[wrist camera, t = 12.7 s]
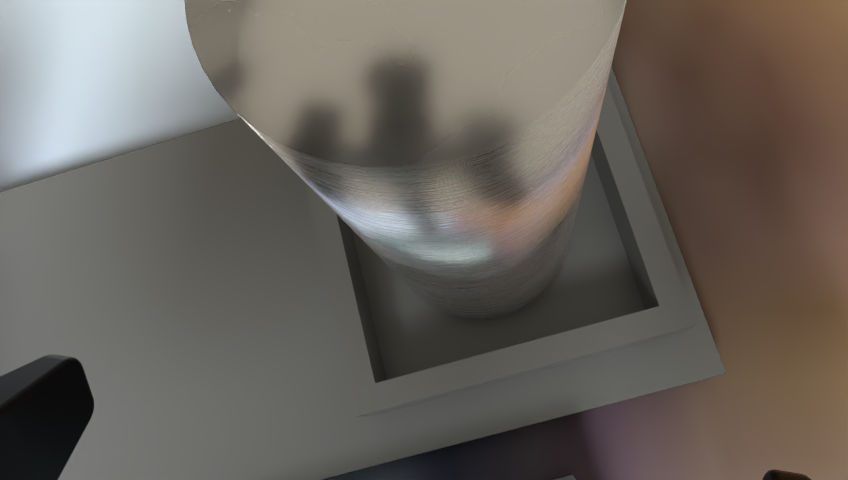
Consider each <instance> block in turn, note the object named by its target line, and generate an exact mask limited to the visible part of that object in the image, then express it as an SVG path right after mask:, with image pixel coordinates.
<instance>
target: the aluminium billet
mask: <svg viewBox="0 0 848 480" xmlns="http://www.w3.org/2000/svg"><path fill="white" fill-rule="evenodd" d="M626 1H627V0H185V9H186V19H187V24H188V28H189V32H190V36H191V40H192V44H193V47H194V49H195V51H196V54H197V56H198V58H199V61H200V63H201V66H202V68H203V70H204V71H205V73H206V74H207V76H208V78H209V79H210V81H211V83H212V84H213V86H214V87H215V89H216V90H217V92H218V93H219V94H220V95H221V96H222V97H223V99H224V100H225V101H226V102H227V103H228V104H229V106H230V107H231V108H232V109H233V110H234V111H235V112H236V113H237V114H238V115H239V116H240V117H241V118H242V119H243V120H244V121H245V122H246V123H247V124H248V125H249V126H250V127H251V128H252V129H253V130H254V131H255V132H256V133H257V134H258V135H259V136H260V137H261V138H262V139H263V140H264V141H265V142H266V143H267V144H268V145H269V146H270V147H271V148H272V149H273V150H274V151H275V152H276V153H277V154H278V155H279V156H280V157H281V158H282V159H283V160H284V161H285V162H286V163H287V164H288V165H289V166H290V168H291V169H292V170H293V171H294V172H295V173H296V174H297V175H298V176H299V177H300V178H301V179H302V180H303V181H304V182H305V183H306V184H307V185H308V186H309V187H310V188H311V189H312V190H313V191H314V192H315V193H316V194H317V195H318V196H319V197H320V198H321V199H322V200H323V201H324V202H325V203H326V204H327V205H328V206H329V207H330V208H331V209H332V210H333V211H334V212H335V213H336V214H337V215H338V216H339V217H340V218H341V219H342V220H343V221H344V222H345V223H346V224H347V225H348V226H349V227H350V228H351V229H352V230H353V231H354V232H355V233H356V234H357V235H358V236H359V237H360V238H361V239H362V240H363V241H364V242H365V243H366V244H367V245H368V246H369V247H370V248H371V249H372V250H373V251H374V252H375V253H376V254H377V255H378V256H379V257H380V258H381V259H382V260H383V261H384V262H385V263H386V264H387V265H388V266H389V267H390V268H391V269H392V270H393V271H394V272H395V273H396V274H397V275H398V276H399V277H400V278H401V279H402V280H403V281H404V282H405V283H406V284H407V285H408V286H409V287H410V288H411V289H412V290H413V291H414V292H415V293H416V294H417V295H418V296H419V297H420V298H421V299H422V300H424V301H425V302H426V303H427V304H429V305H430V306H432V307H433V308H435V309H437V310H439V311H441V312H443V313H445V314H448V315H451V316H454V317H457V318H462V319H467V320H493V319H498V318H503V317H506V316H509V315H512V314H515V313H517V312H519V311H521V310H523V309H525V308H527V307H528V306H530V305H531V304H533V303H534V302H535V301H537V300H538V299H539V298H540V297H541V296H542V295H543V294H545V293H546V291H547V290H548V289H549V288H550V287H551V286H552V284H553V283H554V281H555V280H556V278H557V277H558V275H559V273H560V271H561V269H562V267H563V265H564V262H565V259H566V256H567V252H568V248H569V244H570V240H571V235H572V231H573V227H574V223H575V218H576V214H577V210H578V205H579V201H580V197H581V193H582V188H583V184H584V180H585V176H586V171H587V167H588V163H589V159H590V154H591V150H592V146H593V142H594V137H595V133H596V129H597V125H598V120H599V116H600V112H601V108H602V103H603V99H604V95H605V91H606V86H607V82H608V78H609V74H610V69H611V65H612V61H613V56H614V52H615V48H616V44H617V39H618V35H619V31H620V27H621V22H622V18H623V14H624V10H625V5H626Z"/></svg>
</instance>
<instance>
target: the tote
mask: <svg viewBox="0 0 848 480" xmlns="http://www.w3.org/2000/svg"><path fill="white" fill-rule="evenodd" d="M554 480H576V479H575V477H574V476H573V475H570V476H566V477H562V478H558V479H554Z"/></svg>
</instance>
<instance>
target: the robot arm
mask: <svg viewBox="0 0 848 480" xmlns="http://www.w3.org/2000/svg"><path fill="white" fill-rule="evenodd" d="M93 411H94V398H93V395H92V392H91V389H90V386H89V383H88V380H87V377H86V374H85V371H84V368H83V366H82V364H81V362H80V361H79V360H78V359H76V358H74V357H68V356H62V355H55V354H50V355H45V356H43V357H41V358H38V359H36V360H34V361H32V362H30V363H28V364H25V365H23V366H21V367H19V368H17V369H15V370H13V371H10V372H8V373H6V374H4V375H2V376H0V480H58V479H59V477H60V475H61V473H62V471H63V469H64V468H65V466H66V464H67V462H68V460H69V458H70V456H71V455H72V453H73V451H74V449H75V447H76V445H77V443H78V442H79V440H80V438H81V436H82V434H83V432H84V431H85V429H86V427H87V425H88V423H89V421H90V419H91V417H92V414H93ZM762 480H811V479H810V478H808V477H807V476H805V475H803V474H798V473H792V472H786V471H780V470H770V471H768V472H767V473H766V474H765V475H764V477H763V479H762Z"/></svg>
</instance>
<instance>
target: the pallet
mask: <svg viewBox="0 0 848 480" xmlns="http://www.w3.org/2000/svg"><path fill="white" fill-rule="evenodd" d="M50 354H55V355H62V356H68V357H74V358H76V359H78V360H79V361H80V362H81V364H82V366H83V368H84V371H85V374H86V377H87V380H88V383H89V386H90V389H91V392H92V395H93V398H94V411H93V414H92V417H91V419H90V421H89V423H88V425H87V427H86V429H85V431H84V432H83V434H82V436H81V438H80V440H79V442H78V443H77V445H76V447H75V449H74V451H73V453H72V455H71V456H70V458H69V460H68V462H67V464H66V466H65V468H64V469H63V471H62V473H61V475H60V477H59V479H58V480H321V479H325V478H329V477H333V476H337V475H341V474H344V473H348V472H352V471H356V470H360V469H363V468H367V467H371V466H375V465H379V464H383V463H386V462H390V461H394V460H398V459H402V458H406V457H409V456H413V455H417V454H421V453H425V452H428V451H432V450H436V449H440V448H444V447H448V446H451V445H455V444H459V443H463V442H467V441H471V440H474V439H478V438H482V437H486V436H490V435H493V434H497V433H501V432H505V431H509V430H513V429H516V428H520V427H524V426H528V425H532V424H536V423H539V422H543V421H547V420H551V419H555V418H558V417H562V416H566V415H570V414H574V413H578V412H581V411H585V410H589V409H593V408H597V407H601V406H604V405H608V404H612V403H616V402H620V401H623V400H627V399H631V398H635V397H639V396H643V395H646V394H650V393H654V392H658V391H662V390H666V389H669V388H673V387H677V386H681V385H685V384H688V383H692V382H696V381H700V380H704V379H708V378H711V377H715V376H719V375H723V374H726V372H725V369H724V367H723V364H722V361H721V358H720V356H719V353H718V350H717V348H716V345H715V342H714V340H713V337H712V334H711V332H710V329H709V326H708V324H707V321H706V318H705V316H704V313H703V310H702V307H701V305H700V302H699V299H698V297H697V294H696V291H695V289H694V286H693V283H692V281H691V278H690V275H689V273H688V270H687V267H686V265H685V262H684V259H683V256H682V254H681V251H680V248H679V246H678V243H677V240H676V238H675V235H674V232H673V230H672V227H671V224H670V222H669V219H668V216H667V213H666V211H665V208H664V205H663V203H662V200H661V197H660V195H659V192H658V189H657V187H656V184H655V181H654V179H653V176H652V173H651V171H650V168H649V165H648V162H647V160H646V157H645V154H644V152H643V149H642V146H641V144H640V141H639V138H638V136H637V133H636V130H635V128H634V125H633V122H632V120H631V117H630V114H629V111H628V109H627V106H626V103H625V101H624V98H623V95H622V93H621V90H620V87H619V85H618V82H617V79H616V77H615V74H614V71H613V69H612V66H611V69H610V74H609V78H608V82H607V86H606V91H605V95H604V99H603V103H602V108H601V112H600V116H599V120H598V125H597V129H596V133H595V137H594V142H593V146H592V150H591V154H590V159H589V163H588V167H587V171H586V176H585V180H584V184H583V188H582V193H581V197H580V201H579V205H578V210H577V214H576V218H575V223H574V227H573V231H572V235H571V240H570V244H569V248H568V252H567V256H566V259H565V262H564V265H563V267H562V269H561V271H560V273H559V275H558V277H557V278H556V280H555V281H554V283H553V284H552V286H551V287H550V288H549V289H548V290H547V291H546V293H545V294H543V295H542V296H541V297H540V298H539V299H538V300H537V301H535V302H534V303H533V304H531V305H530V306H528V307H527V308H525V309H523V310H521V311H519V312H517V313H515V314H512V315H509V316H506V317H503V318H498V319H493V320H467V319H462V318H457V317H454V316H451V315H448V314H445V313H443V312H441V311H439V310H437V309H435V308H433V307H432V306H430V305H429V304H427V303H426V302H425V301H424V300H422V299H421V298H420V297H419V296H418V295H417V294H416V293H415V292H414V291H413V290H412V289H411V288H410V287H409V286H408V285H407V284H406V283H405V282H404V281H403V280H402V279H401V278H400V277H399V276H398V275H397V274H396V273H395V272H394V271H393V270H392V269H391V268H390V267H389V266H388V265H387V264H386V263H385V262H384V261H383V260H382V259H381V258H380V257H379V256H378V255H377V254H376V253H375V252H374V251H373V250H372V249H371V248H370V247H369V246H368V245H367V244H366V243H365V242H364V241H363V240H362V239H361V238H360V237H359V236H358V235H357V234H356V233H355V232H354V231H353V230H352V229H351V228H350V227H349V226H348V225H347V224H346V223H345V222H344V221H343V220H342V219H341V218H340V217H339V216H338V215H337V214H336V213H335V212H334V211H333V210H332V209H331V208H330V207H329V206H328V205H327V204H326V203H325V202H324V201H323V200H322V199H321V198H320V197H319V196H318V195H317V194H316V193H315V192H314V191H313V190H312V189H311V188H310V187H309V186H308V185H307V184H306V183H305V182H304V181H303V180H302V179H301V178H300V177H299V176H298V175H297V174H296V173H295V172H294V171H293V170H292V169H291V168H290V166H289V165H288V164H287V163H286V162H285V161H284V160H283V159H282V158H281V157H280V156H279V155H278V154H277V153H276V152H275V151H274V150H273V149H272V148H271V147H270V146H269V145H268V144H267V143H266V142H265V141H264V140H263V139H262V138H261V137H260V136H259V135H258V134H257V133H256V132H255V131H254V130H253V129H252V128H251V127H250V126H249V125H248V124H247V123H246V122H245V121H244V120H243V119H242V118H239V119H236V120H233V121H230V122H226V123H223V124H220V125H217V126H213V127H210V128H207V129H204V130H200V131H197V132H194V133H191V134H187V135H184V136H181V137H178V138H174V139H171V140H168V141H165V142H161V143H158V144H155V145H152V146H148V147H145V148H142V149H139V150H136V151H132V152H129V153H126V154H123V155H119V156H116V157H113V158H110V159H106V160H103V161H100V162H97V163H93V164H90V165H87V166H84V167H80V168H77V169H74V170H71V171H67V172H64V173H61V174H58V175H54V176H51V177H48V178H45V179H41V180H38V181H35V182H32V183H28V184H25V185H22V186H19V187H15V188H12V189H9V190H6V191H3V192H0V376H2V375H4V374H6V373H8V372H10V371H13V370H15V369H17V368H19V367H21V366H23V365H25V364H28V363H30V362H32V361H34V360H36V359H38V358H41V357H43V356H45V355H50Z"/></svg>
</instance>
